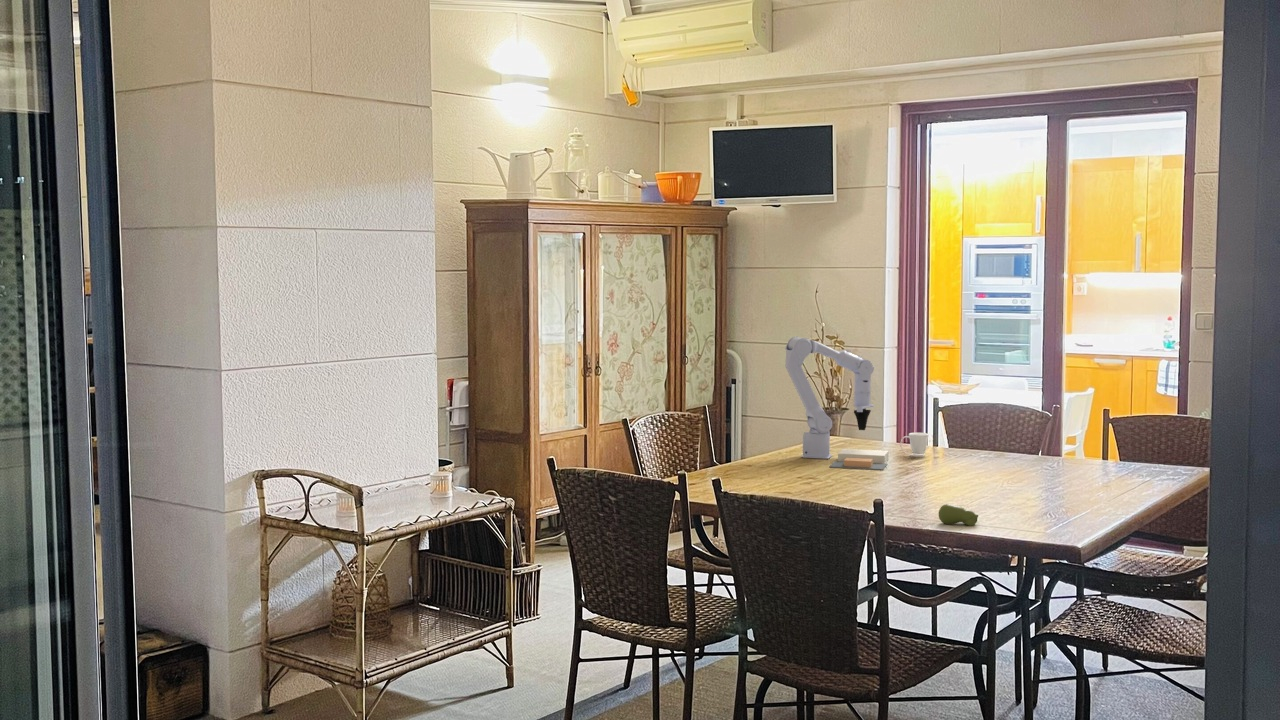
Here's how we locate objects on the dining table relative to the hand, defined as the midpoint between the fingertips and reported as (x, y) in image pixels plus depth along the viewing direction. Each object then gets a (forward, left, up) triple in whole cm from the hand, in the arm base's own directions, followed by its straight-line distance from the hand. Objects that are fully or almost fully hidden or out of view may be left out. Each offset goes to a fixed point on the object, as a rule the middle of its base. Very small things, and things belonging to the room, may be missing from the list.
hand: (862, 429), depth 420 cm
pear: (+40, -110, -10) cm, 117 cm away
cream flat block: (+2, -11, -9) cm, 15 cm away
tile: (+2, -25, -7) cm, 26 cm away
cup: (+18, +6, -10) cm, 21 cm away
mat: (+2, -24, -9) cm, 25 cm away
